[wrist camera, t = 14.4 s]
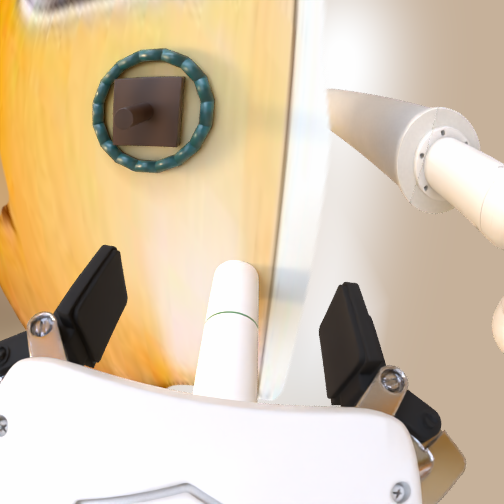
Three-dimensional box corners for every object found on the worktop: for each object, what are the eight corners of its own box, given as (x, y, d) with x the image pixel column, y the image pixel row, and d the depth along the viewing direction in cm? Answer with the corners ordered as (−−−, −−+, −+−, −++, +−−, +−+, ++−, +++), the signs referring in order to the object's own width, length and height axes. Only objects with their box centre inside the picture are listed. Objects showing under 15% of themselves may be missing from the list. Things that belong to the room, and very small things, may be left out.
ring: (221, 49, 26) (220, 48, 25) (208, 174, 36) (206, 178, 34) (99, 56, 25) (93, 55, 24) (98, 168, 35) (93, 171, 33)
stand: (185, 76, 28) (166, 76, 22) (179, 144, 33) (161, 160, 27) (119, 79, 28) (89, 81, 21) (117, 142, 33) (90, 158, 27)
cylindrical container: (215, 293, 47) (192, 435, 27) (213, 258, 43) (183, 413, 23) (257, 295, 47) (254, 440, 27) (260, 261, 43) (259, 420, 23)
